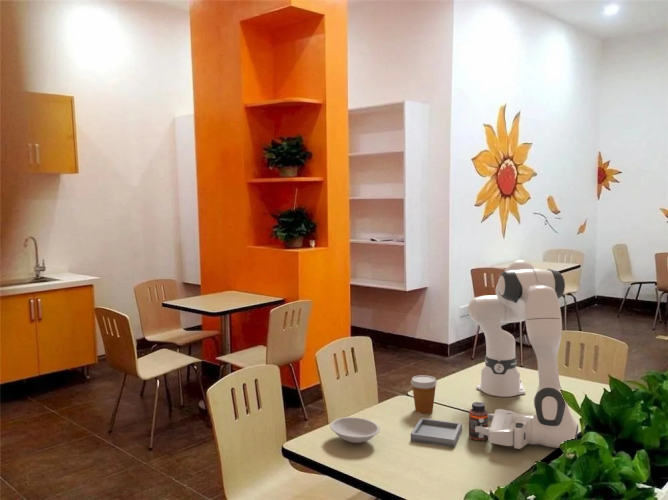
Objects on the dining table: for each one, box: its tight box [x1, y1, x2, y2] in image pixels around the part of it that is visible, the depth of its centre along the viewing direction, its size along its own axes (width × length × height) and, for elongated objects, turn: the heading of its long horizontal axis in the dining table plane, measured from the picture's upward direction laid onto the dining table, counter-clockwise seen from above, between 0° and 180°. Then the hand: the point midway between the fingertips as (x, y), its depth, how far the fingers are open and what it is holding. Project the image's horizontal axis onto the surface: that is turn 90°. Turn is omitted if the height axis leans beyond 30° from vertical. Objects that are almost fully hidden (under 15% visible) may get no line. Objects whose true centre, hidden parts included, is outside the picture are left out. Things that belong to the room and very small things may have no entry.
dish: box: [329, 416, 381, 444], centre depth 184 cm, size 18×14×5 cm
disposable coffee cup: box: [410, 374, 438, 415], centre depth 209 cm, size 10×10×12 cm
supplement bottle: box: [468, 401, 489, 442], centre depth 185 cm, size 6×6×11 cm
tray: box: [410, 417, 463, 448], centre depth 187 cm, size 14×14×2 cm
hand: (477, 422), depth 185 cm, fingers open, 8 cm apart
